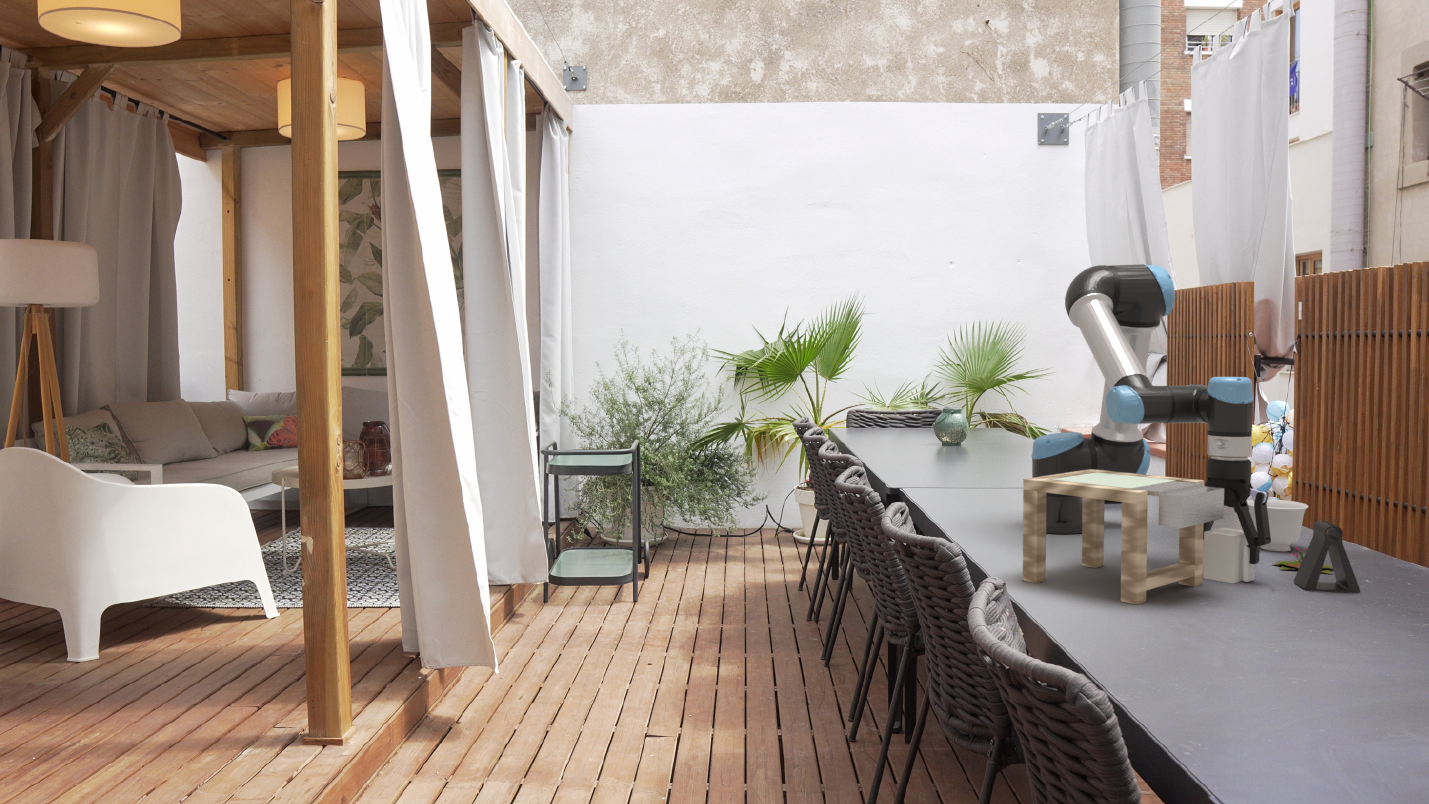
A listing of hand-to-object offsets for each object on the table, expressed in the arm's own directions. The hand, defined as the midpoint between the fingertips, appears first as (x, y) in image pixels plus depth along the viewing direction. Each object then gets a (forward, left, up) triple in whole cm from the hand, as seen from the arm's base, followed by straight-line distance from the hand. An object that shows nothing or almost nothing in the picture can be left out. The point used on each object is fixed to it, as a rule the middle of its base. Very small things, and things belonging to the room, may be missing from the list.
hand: (1226, 576), depth 187 cm
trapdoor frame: (-12, -20, 0) cm, 23 cm away
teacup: (-7, +36, -1) cm, 37 cm away
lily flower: (+6, +20, -1) cm, 21 cm away
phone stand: (+15, +6, -1) cm, 16 cm away
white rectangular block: (0, 0, 0) cm, 0 cm away
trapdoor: (-8, -20, +13) cm, 25 cm away
